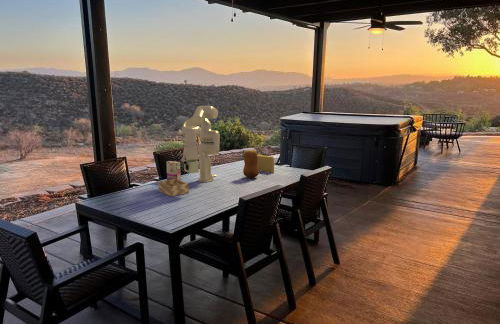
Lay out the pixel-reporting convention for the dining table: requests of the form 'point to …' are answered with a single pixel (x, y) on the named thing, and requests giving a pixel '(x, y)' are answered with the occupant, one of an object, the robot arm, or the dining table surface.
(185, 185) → the wicker basket
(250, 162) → the butternut squash
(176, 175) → the candy bar box
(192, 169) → the small crate
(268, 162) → the cheese
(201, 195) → the dining table surface
